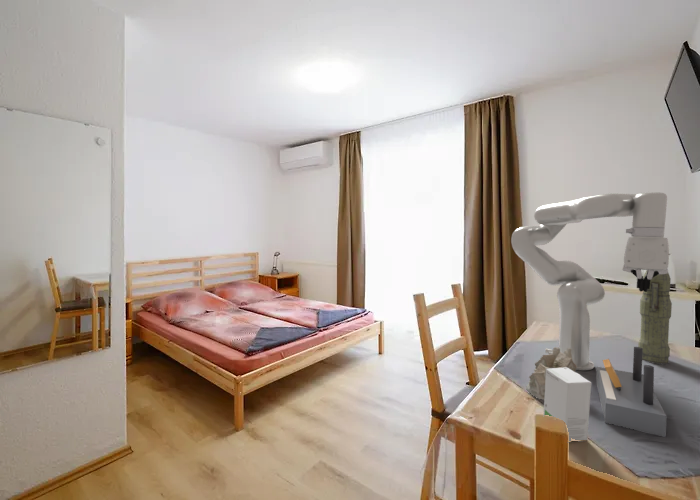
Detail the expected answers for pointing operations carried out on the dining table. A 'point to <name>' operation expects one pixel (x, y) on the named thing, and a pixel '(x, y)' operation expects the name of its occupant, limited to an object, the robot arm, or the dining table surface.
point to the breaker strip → (629, 404)
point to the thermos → (655, 320)
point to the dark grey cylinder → (637, 364)
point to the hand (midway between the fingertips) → (642, 290)
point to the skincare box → (568, 400)
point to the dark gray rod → (648, 384)
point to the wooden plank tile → (612, 374)
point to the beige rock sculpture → (546, 362)
